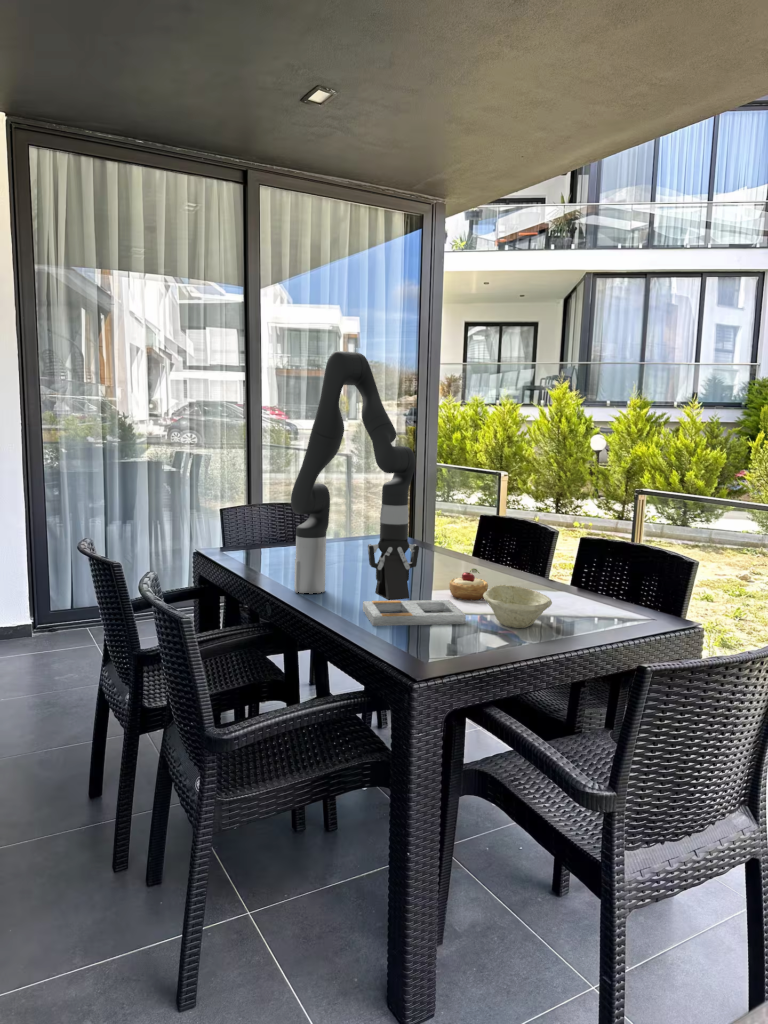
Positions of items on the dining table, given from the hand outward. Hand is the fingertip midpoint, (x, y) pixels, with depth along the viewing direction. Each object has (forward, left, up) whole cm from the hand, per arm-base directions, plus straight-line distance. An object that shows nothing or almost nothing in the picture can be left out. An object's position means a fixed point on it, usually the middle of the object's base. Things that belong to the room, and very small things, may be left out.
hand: (392, 582), depth 198 cm
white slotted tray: (+6, 0, -10) cm, 11 cm away
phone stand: (0, 0, -4) cm, 4 cm away
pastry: (+29, +22, -10) cm, 38 cm away
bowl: (+32, -10, -10) cm, 35 cm away
